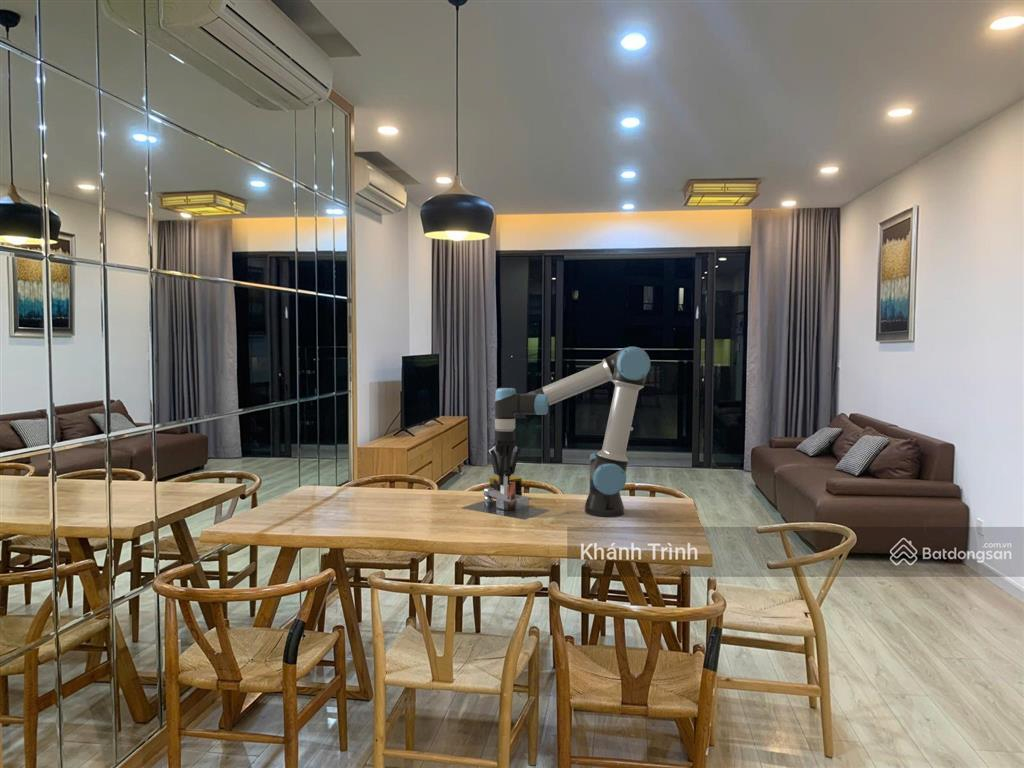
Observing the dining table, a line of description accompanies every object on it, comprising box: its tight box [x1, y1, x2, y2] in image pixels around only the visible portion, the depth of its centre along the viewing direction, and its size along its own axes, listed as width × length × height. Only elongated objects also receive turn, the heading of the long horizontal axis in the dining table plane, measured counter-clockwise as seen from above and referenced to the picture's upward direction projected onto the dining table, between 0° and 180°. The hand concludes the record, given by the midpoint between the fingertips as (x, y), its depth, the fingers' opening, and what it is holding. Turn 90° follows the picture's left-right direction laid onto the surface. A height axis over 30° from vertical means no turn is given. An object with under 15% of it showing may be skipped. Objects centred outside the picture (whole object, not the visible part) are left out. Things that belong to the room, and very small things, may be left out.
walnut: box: [508, 502, 515, 510], centre depth 257 cm, size 4×4×4 cm
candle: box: [489, 474, 523, 500], centre depth 276 cm, size 10×10×10 cm
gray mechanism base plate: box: [461, 494, 551, 521], centre depth 255 cm, size 30×18×6 cm, turn 55°
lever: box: [483, 482, 516, 510], centre depth 254 cm, size 18×4×11 cm, turn 36°
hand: (503, 493), depth 246 cm, fingers closed
